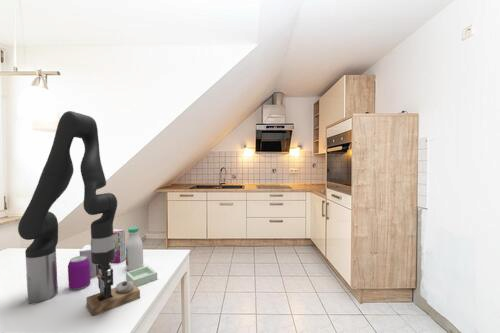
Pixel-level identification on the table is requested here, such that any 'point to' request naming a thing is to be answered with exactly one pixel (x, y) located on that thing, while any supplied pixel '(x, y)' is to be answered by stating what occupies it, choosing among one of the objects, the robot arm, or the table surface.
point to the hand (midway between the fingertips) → (104, 291)
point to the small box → (87, 252)
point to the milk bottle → (134, 250)
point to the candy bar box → (119, 245)
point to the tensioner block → (113, 298)
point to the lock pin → (102, 289)
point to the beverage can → (78, 272)
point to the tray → (141, 275)
